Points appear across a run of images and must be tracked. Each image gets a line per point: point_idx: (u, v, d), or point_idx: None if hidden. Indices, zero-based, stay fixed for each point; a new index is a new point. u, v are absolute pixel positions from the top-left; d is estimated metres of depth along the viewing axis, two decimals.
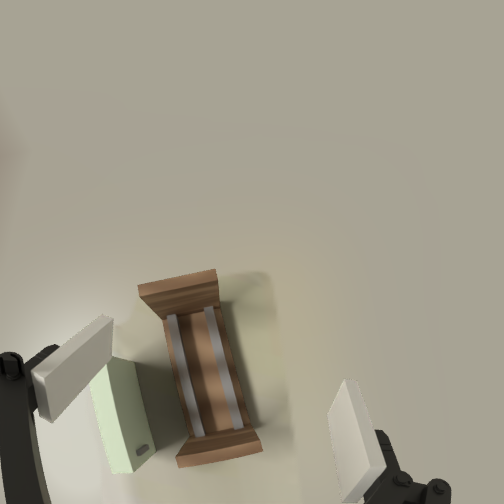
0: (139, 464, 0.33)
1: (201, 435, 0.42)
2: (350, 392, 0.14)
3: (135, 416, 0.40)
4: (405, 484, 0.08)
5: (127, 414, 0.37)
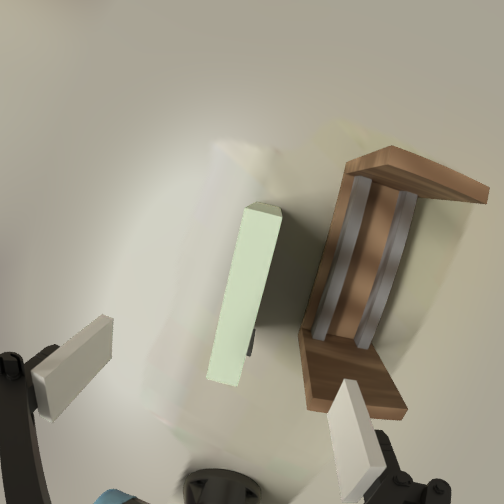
0: None
1: (320, 338, 0.37)
2: (350, 392, 0.14)
3: None
4: (405, 484, 0.08)
5: None
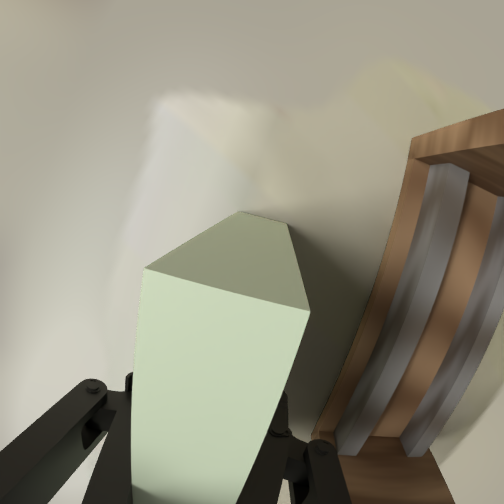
0: None
1: (350, 454, 0.18)
2: None
3: None
4: (283, 435, 0.11)
5: None
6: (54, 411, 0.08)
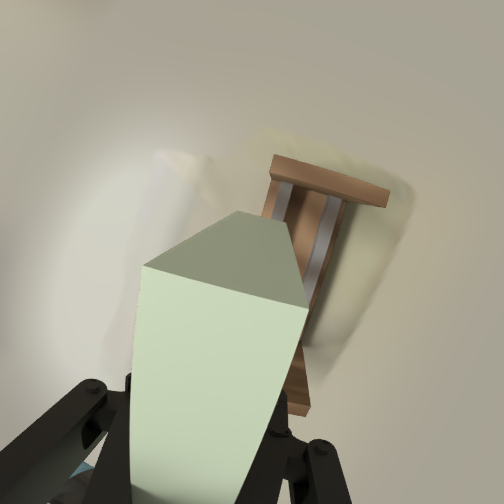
0: None
1: None
2: None
3: None
4: (283, 435, 0.11)
5: None
6: (54, 411, 0.08)
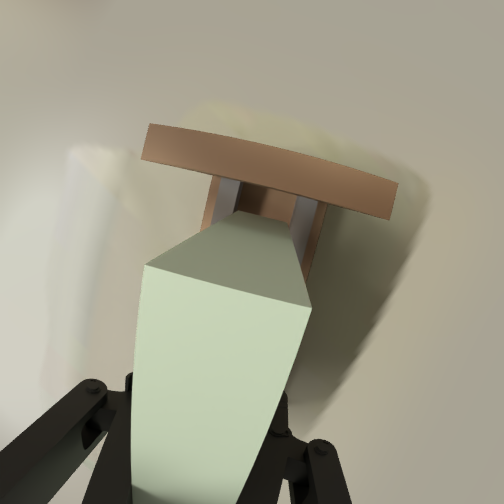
0: None
1: None
2: None
3: None
4: (283, 435, 0.11)
5: None
6: (54, 411, 0.08)
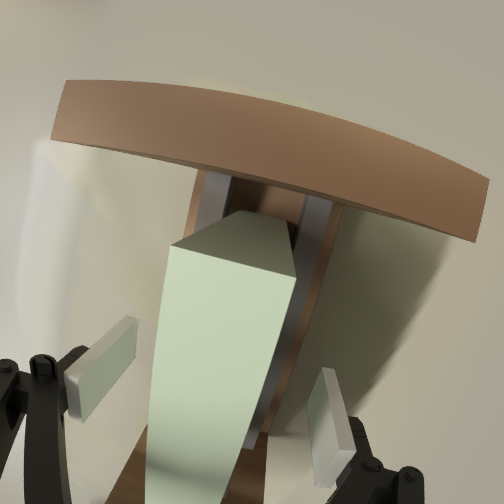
0: None
1: None
2: (326, 380, 0.15)
3: None
4: (375, 469, 0.09)
5: None
6: None
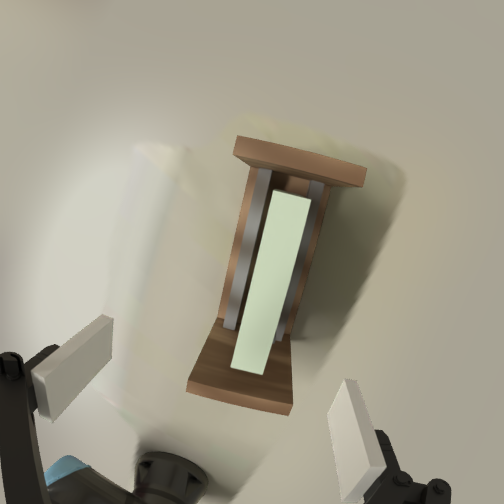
0: None
1: (230, 328, 0.39)
2: (350, 392, 0.14)
3: None
4: (404, 485, 0.08)
5: None
6: None
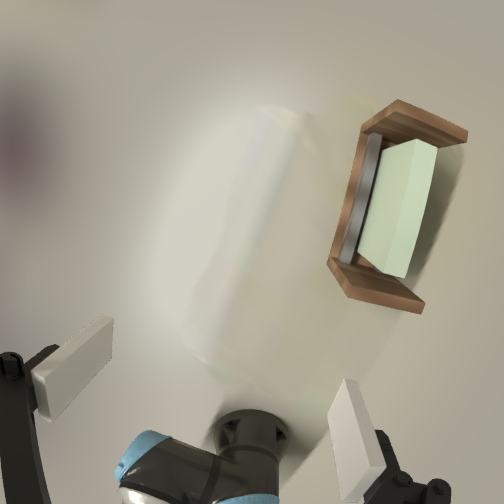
0: None
1: (347, 262, 0.46)
2: (350, 392, 0.14)
3: None
4: (404, 485, 0.08)
5: None
6: None
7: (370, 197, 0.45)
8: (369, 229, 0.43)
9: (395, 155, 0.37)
